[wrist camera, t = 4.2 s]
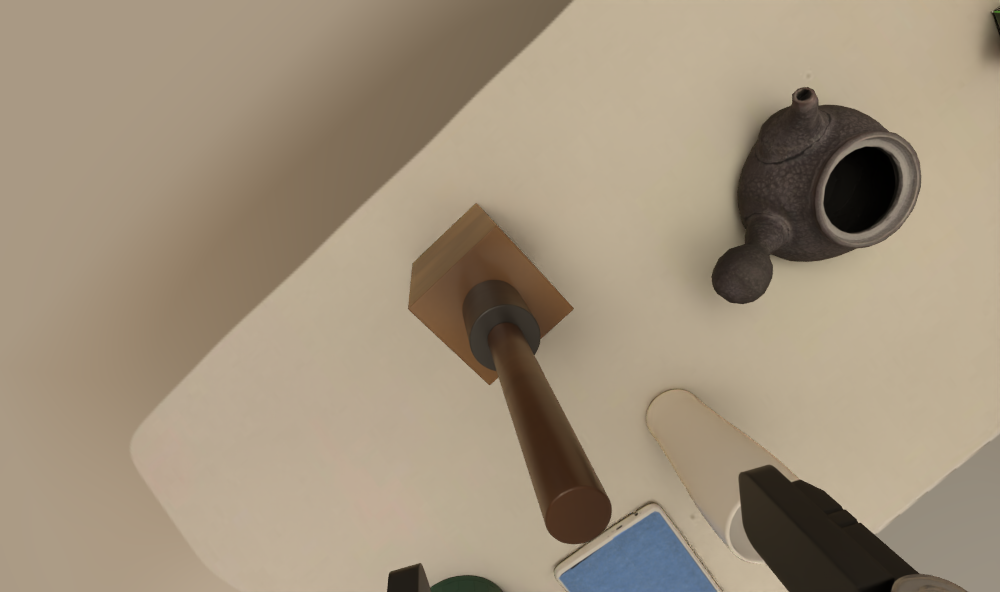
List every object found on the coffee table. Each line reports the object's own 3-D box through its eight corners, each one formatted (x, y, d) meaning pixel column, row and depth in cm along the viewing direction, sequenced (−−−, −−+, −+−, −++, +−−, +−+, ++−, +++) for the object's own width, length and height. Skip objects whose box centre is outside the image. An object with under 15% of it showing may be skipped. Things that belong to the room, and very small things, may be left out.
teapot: (799, 41, 41) (913, 9, 31) (888, 187, 45) (1012, 198, 36) (619, 208, 42) (675, 226, 33) (722, 333, 47) (797, 380, 37)
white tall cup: (712, 380, 48) (832, 480, 34) (696, 445, 50) (805, 565, 36) (643, 377, 47) (738, 478, 33) (630, 443, 49) (714, 567, 35)
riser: (472, 322, 43) (489, 385, 32) (412, 263, 41) (407, 309, 30) (534, 265, 43) (574, 308, 31) (476, 202, 41) (496, 225, 29)
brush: (470, 344, 31) (526, 588, 14) (455, 287, 30) (497, 478, 13) (528, 329, 31) (653, 551, 14) (516, 272, 30) (635, 439, 13)
